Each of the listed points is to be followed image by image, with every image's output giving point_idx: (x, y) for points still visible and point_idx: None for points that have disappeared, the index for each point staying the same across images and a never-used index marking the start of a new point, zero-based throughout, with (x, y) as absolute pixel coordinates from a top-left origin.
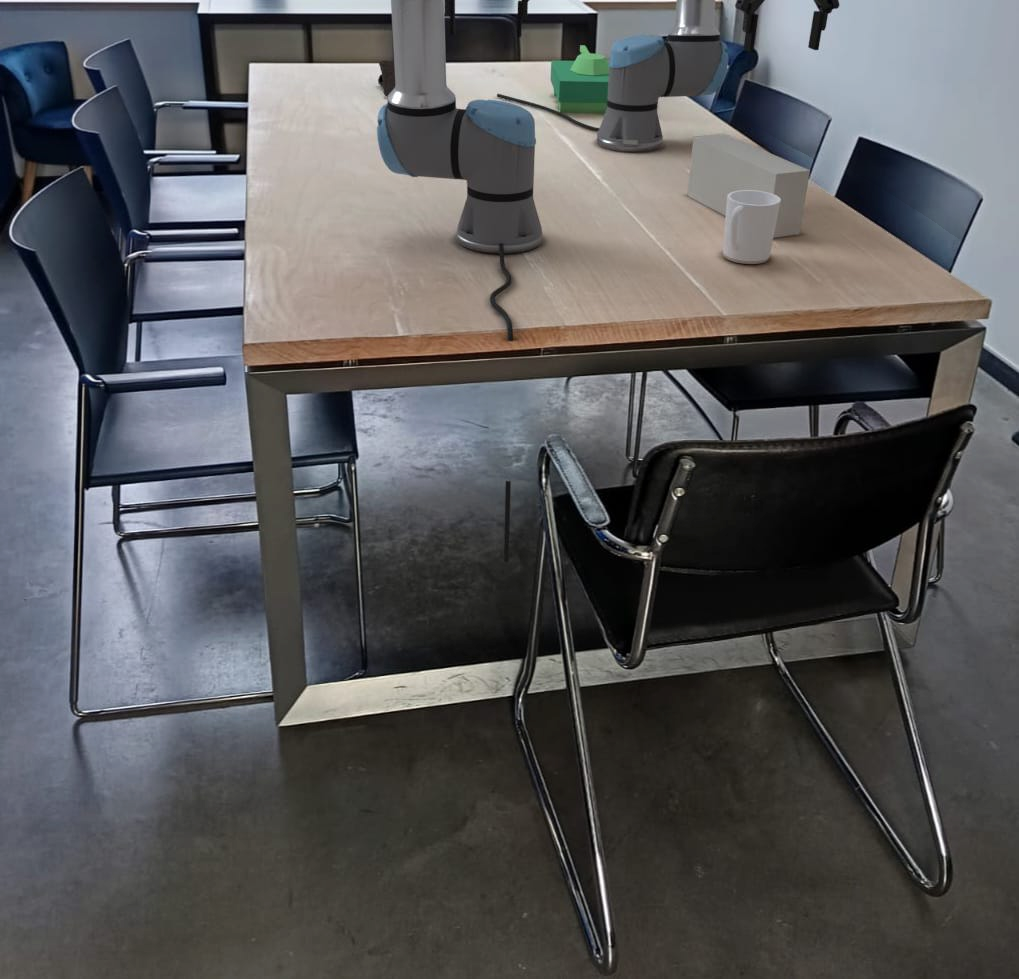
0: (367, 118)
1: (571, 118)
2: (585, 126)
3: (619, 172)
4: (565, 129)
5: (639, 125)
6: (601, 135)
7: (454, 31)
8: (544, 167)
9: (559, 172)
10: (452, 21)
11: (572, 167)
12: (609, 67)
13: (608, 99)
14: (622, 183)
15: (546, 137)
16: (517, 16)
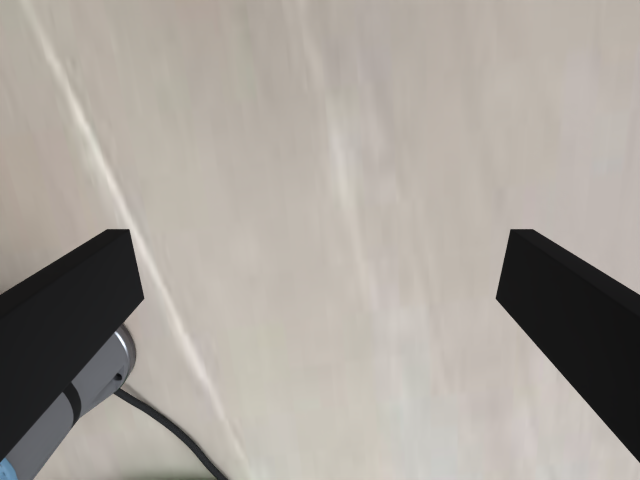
0: (539, 435)
1: (199, 456)
2: (170, 423)
3: (47, 159)
4: (204, 415)
5: None
6: (112, 337)
7: (508, 274)
8: (201, 176)
9: (165, 142)
10: (567, 262)
11: (146, 183)
12: (17, 469)
13: (63, 397)
14: (18, 73)
15: (229, 369)
16: (45, 285)
